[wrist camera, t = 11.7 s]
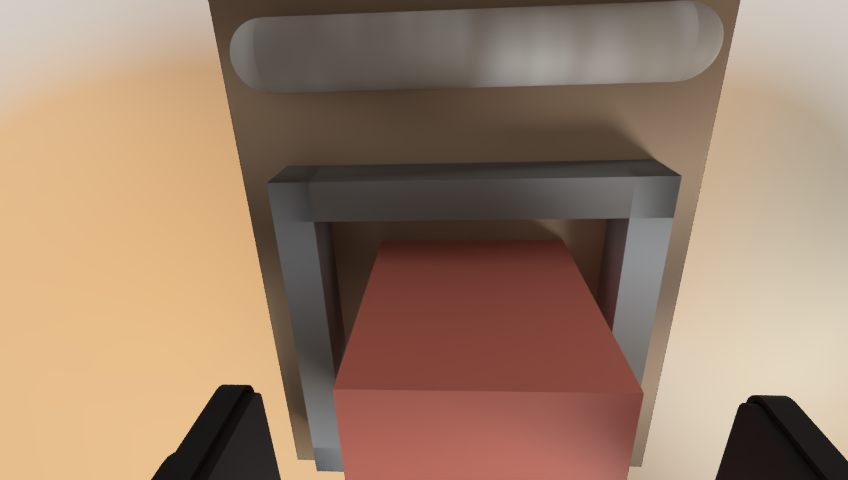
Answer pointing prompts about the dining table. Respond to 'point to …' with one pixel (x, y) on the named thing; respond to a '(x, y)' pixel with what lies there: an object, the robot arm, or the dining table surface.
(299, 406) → the board
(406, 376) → the red block
